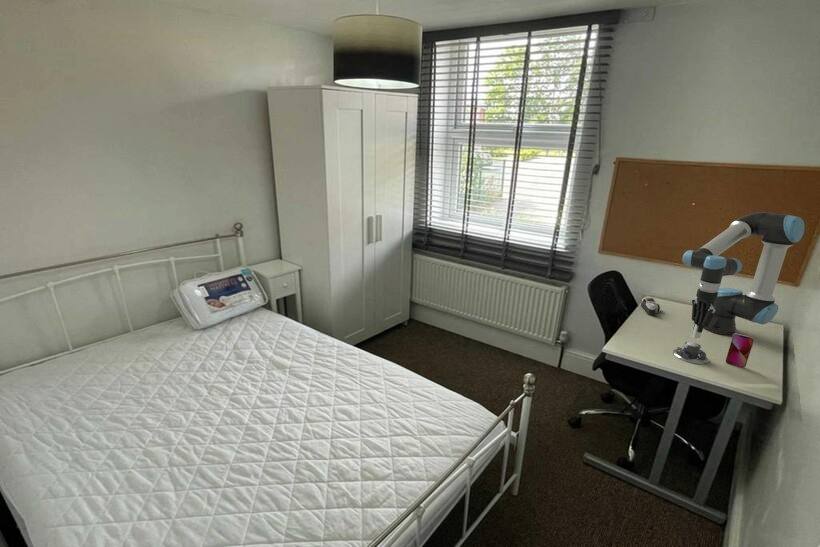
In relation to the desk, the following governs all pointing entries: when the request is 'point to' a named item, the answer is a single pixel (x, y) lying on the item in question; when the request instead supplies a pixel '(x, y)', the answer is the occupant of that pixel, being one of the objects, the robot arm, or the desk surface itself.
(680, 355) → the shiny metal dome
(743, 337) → the smartphone
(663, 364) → the desk surface
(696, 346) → the dark grey short cylinder
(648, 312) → the camera
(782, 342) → the desk surface
